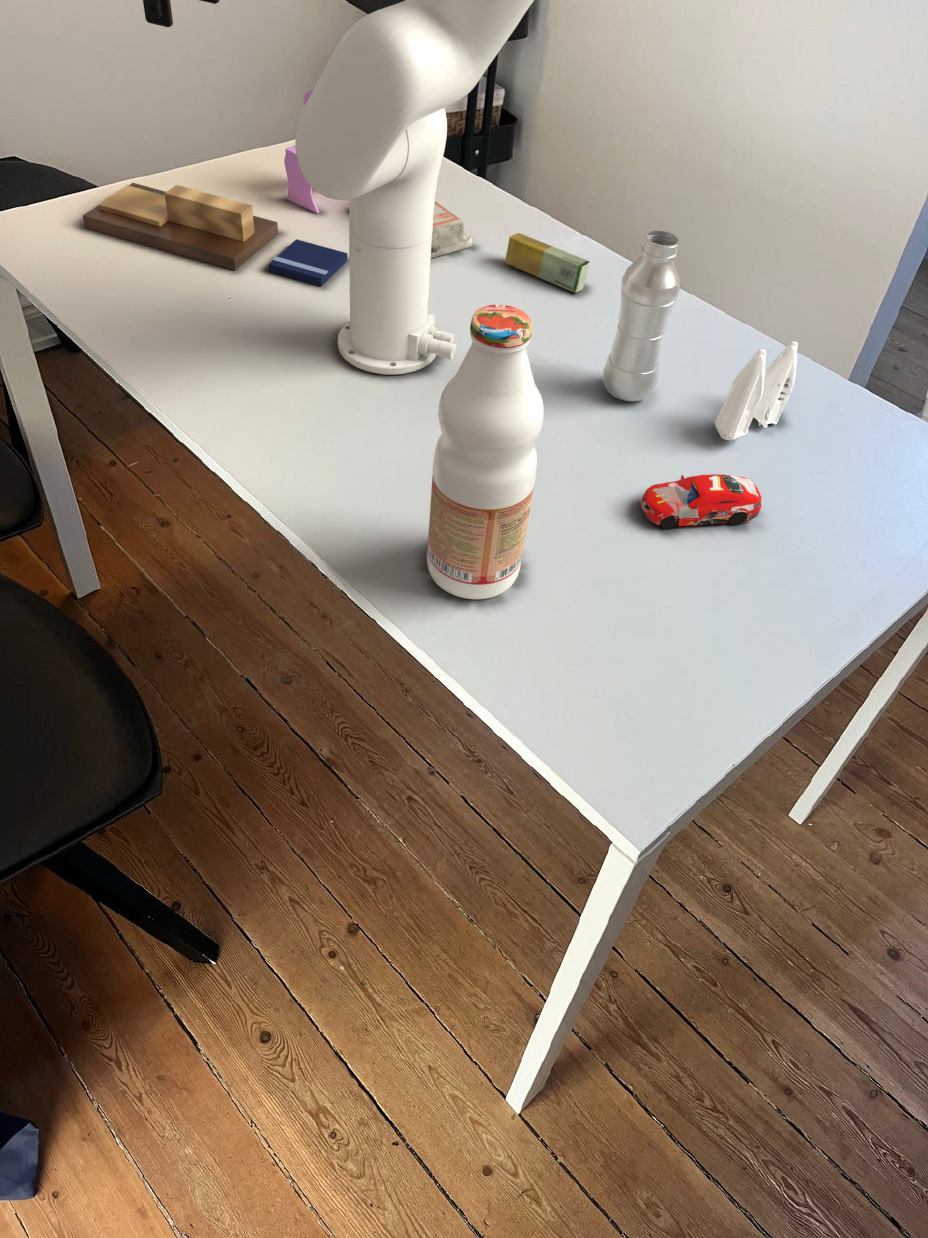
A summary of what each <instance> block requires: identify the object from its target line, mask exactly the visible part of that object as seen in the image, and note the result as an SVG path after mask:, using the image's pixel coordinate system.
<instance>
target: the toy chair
mask: <svg viewBox="0 0 928 1238" xmlns="http://www.w3.org/2000/svg"><path fill="white" fill-rule="evenodd" d="M313 90H314V88H312V89H310V90H308V91H307V92H306V93H305V95H304V99H303V100H304V101H303V102H304V106H305V105H306V103H307V101H308V99H309V97H310V95H311V93H312V92H313ZM283 163H284V169H285V174H286V178H287V196H286V197H287V198H286V199H287V201H290V202H291V203H294V204H296V205H298V206H300V207H303V208H304V209H307V210H309V211H311V212H313V213H314V214H315V213H316V214H320V211H319V209H318V207H317V204H316V202H315V199H314V196H313V188H312V187H311V186H310V185H309V183H308V182H307V181H306V179H305V178H304V176H303V174H302V172H301V170H300V167H299V164H298V161H297V156H296V146H295V145H291V146H289V147H286V148H285V155H284V160H283Z"/></svg>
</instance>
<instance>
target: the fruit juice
mask: <svg viewBox="0 0 928 1238" xmlns="http://www.w3.org/2000/svg"><path fill="white" fill-rule="evenodd" d="M469 331H470V333H469V334H470V339H471V344H470V346H469V348H468V350H467V352H466V354H465V356H464V358H463V360H462V362H461V364H460V366H459V368H458V370H457V371H456V373H455V374H454V376H453V377H451V379H450V380H449V381H448V382H447V383H446V385H445V386H444V388H443V390H442V392H441V394H440V398H439V403H438V409H437V410H438V411H437V413H438V422H439V426H440V431H441V434H440V436H439V438H438V440H437V442H436V446H435V449H434V453H433V454H434V455H433V461H432V473H431V489H430V503H429V505H430V506H429V519H428V520H429V521H428V535H427V548H426V549H427V551H426V564H427V569H428V571H429V575H430V576H431V579H432V580H433V581H434V583H435V584H436V585H437V586H439V587H440V588H441V590H443V591H444V592H446V593H448V594H450V595H453V596H455V597H458V598H463V599H468V600H484V599H485V600H486V599H490V598H494V597H496V596H499V595H501V594H503V593H505V592H506V591H507V590H508V589H510V588H511V587H512V585H514V583H515V582H516V580H517V578H518V577H519V573H520V570H521V565H522V560H523V553H524V547H525V541H526V536H527V530H528V523H529V518H530V513H531V506H532V500H533V494H534V488H535V485H536V477H537V470H538V469H537V468H538V454H537V449H536V445H535V444H536V441H537V440H538V438H539V436H540V433H541V432H542V428H543V425H544V418H545V407H544V406H545V405H544V401H543V397H542V394H541V392H540V391H539V389H538V387H537V385H536V382H535V379H534V376H533V372H532V367H531V364H530V359H529V354H528V351H527V347H528V345H529V343H530V340H531V338H532V333H533V323H532V319H531V318H530V316H529V315H528V314H527V313H526V312H525V311H524V310H522V309H519V308H517V307H515V306H511V305H506V304H489V305H485V306H482V307H480V308H477V310H476V311H475V312H474V313H473V315H472V317H471V321H470V325H469Z"/></svg>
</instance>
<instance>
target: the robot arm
mask: <svg viewBox="0 0 928 1238" xmlns="http://www.w3.org/2000/svg"><path fill="white" fill-rule="evenodd" d="M199 1H201V2H204V3H209V4H213V5H216V4H218V3H220V0H199ZM534 1H535V0H403V1H401V2H398V3H394V4H391V5H388V6H386V7H384V8H381V9H377V10H375V11H373V12H370V13H368V14H367V15H364V16H363V17H362V18H360V19H359V20H358V21H356V22H355V23H354V24H353V25H352V26H351V27H350V28H349V29H348V30H347V31H346V32H345V34H343V36H342V37H341V39H340V41H339V42H338V43H337V45H336V47H335V48H334V50H333V52H332V54H331V56H330V58H329V60H328V61H327V63H326V66H325V67H324V69H323V71H322V73H321V74H320V76H319V79H318V80H317V82H316V84H315V87H314V88H313V89H314V90H313V92H312V93H311V95H310V97H309V99H308V101H307V103H306V105H305V104H304V106H303V109H302V111H301V114H300V116H299V119H298V122H297V127H296V130H295V141H294V142H295V143H294V144H295V145H294V146H296V156H297V161H298V164H299V167H300V170H301V172H302V174H303V176H304V178H305V179H306V181H307V182H308V183H309V185H310V186H311V187H312V190H314V191H315V192H316V193H318V194H320V195H321V196H324V197H326V198H328V199H331V200H335V201H347V200H350V201H349V210H348V211H349V212H348V239H349V240H348V248H349V249H348V251H349V252H348V253H349V254H348V255H349V257H348V258H349V259H348V261H349V262H348V263H349V265H348V266H349V268H348V269H349V321H348V322H347V323H345V324H344V325H343V326H342V327H341V329H339V332H338V334H337V348H338V349H337V350H338V351H339V354H340V355H341V356H342V358H343V359H344V360H345V361H347V362H348V363H349V364H350V365H352V366H354V367H355V368H357V369H360V370H362V371H365V372H367V373H372V374H373V373H374V374H378V375H388V376H389V375H392V376H393V375H394V376H395V375H405V374H410V373H413V372H416V371H419V370H421V369H423V368H425V367H427V366H428V365H430V364H431V363H432V362H433V361H434V360H435V358H436V356H438V357H442V358H443V359H448V360H451V361H453V359H454V358H455V356H456V353H457V344H456V343H454V340H455V334H454V333H453V332H448V331H443V330H440V329H438V327H436V326H435V322H436V315H435V314H433V313H429V312H428V311H429V295H430V278H431V277H430V276H431V259H432V258H431V242H432V231H433V215H434V202H435V201H436V192H437V186H438V180H439V175H440V171H441V166H442V163H443V158H444V154H445V150H446V143H447V136H448V135H447V134H448V121H447V120H448V119H447V113H446V109H445V108H447V107H449V106H452V105H453V104H455V103H457V102H459V101H460V100H463V99H464V98H465V97H466V96H468V95H469V93H471V91H473V90H474V88H475V87H476V86H477V85H478V82H479V81H480V80H481V78H482V77H483V76H484V74H485V72H486V71H487V70H488V68H489V66H490V65H491V63H493V61H494V60H495V58H496V56H497V55H498V54H499V52H500V51H501V49H502V48H503V47H504V45H505V44H506V43H507V42H508V39H509V38H510V37H511V35H512V34H513V32H514V31H515V29H516V28H517V26H518V25H519V23H520V22H521V20H522V19H523V17H524V15H525V14H526V12H527V11H528V9H529V8H530V7H531V5H532V4H533V3H534ZM142 4H143V10H144V17H145V21H146V23H148V24H151V25H155V26H161V27H164V28H171V27H172V26H173V25H174V20H173V12H172V11H173V10H172V5H171V4H172V3H171V0H142Z"/></svg>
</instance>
